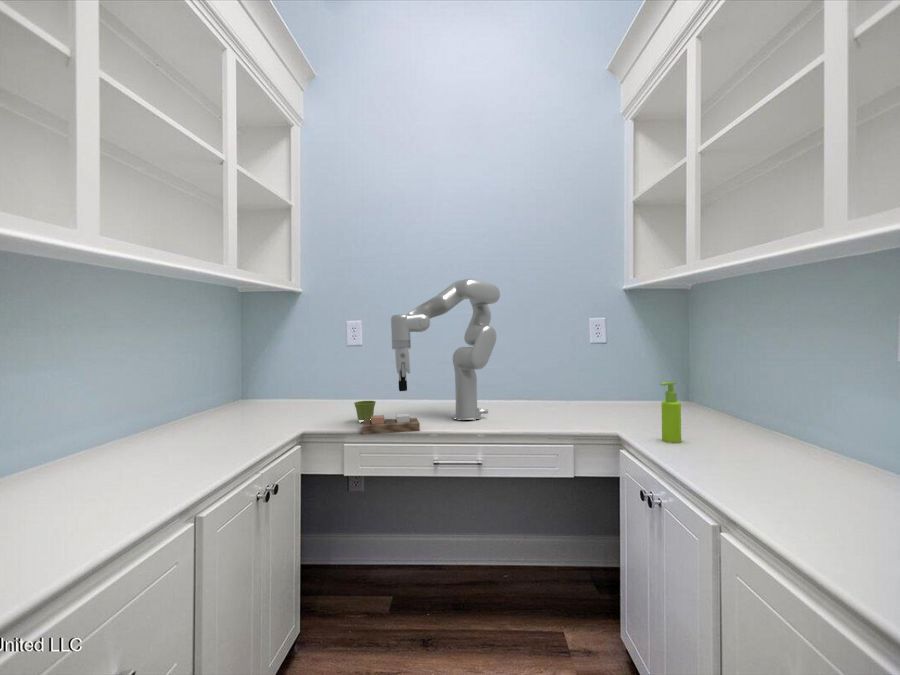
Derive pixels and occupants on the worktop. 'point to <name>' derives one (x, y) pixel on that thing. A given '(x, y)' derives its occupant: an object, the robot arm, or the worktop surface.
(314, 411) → the worktop surface
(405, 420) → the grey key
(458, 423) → the worktop surface
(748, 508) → the worktop surface
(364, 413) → the plant pot
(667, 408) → the soap dispenser
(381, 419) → the terracotta key
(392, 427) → the brown rectangular frame
